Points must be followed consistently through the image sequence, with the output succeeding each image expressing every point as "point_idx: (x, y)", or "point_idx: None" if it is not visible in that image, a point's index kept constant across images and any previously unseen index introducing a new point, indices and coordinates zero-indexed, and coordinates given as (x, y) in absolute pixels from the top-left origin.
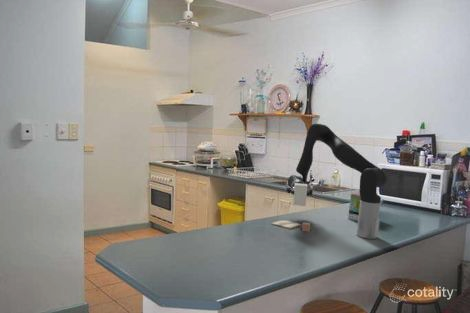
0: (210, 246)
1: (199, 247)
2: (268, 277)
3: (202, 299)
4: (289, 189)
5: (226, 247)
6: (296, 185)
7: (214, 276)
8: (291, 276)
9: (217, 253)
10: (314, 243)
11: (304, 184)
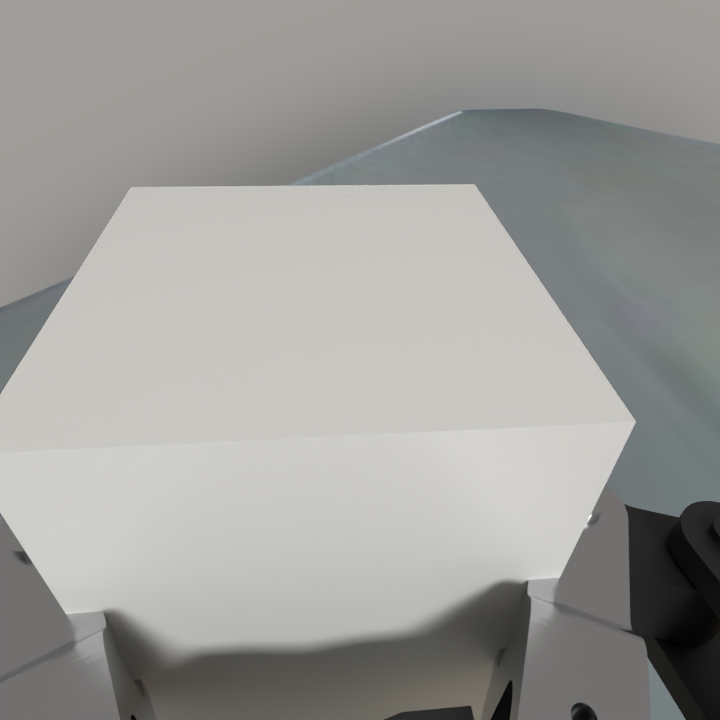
0: (652, 236)
1: (674, 225)
2: (397, 154)
3: (483, 111)
4: (666, 515)
5: (599, 241)
6: (435, 195)
7: (510, 144)
8: (343, 162)
9: (588, 207)
10: None
11: (150, 325)
